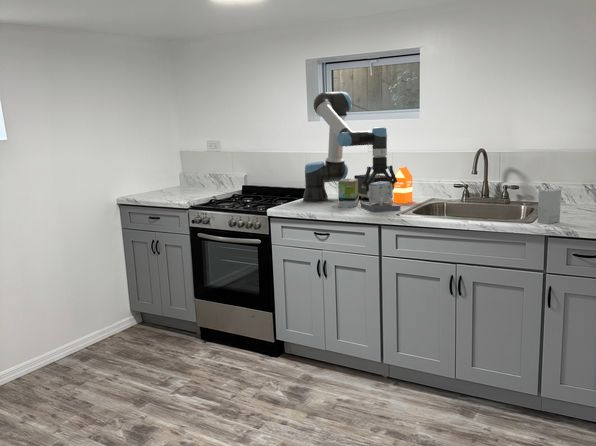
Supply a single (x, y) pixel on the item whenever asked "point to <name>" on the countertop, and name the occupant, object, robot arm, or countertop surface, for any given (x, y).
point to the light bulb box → (380, 191)
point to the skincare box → (549, 206)
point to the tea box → (347, 192)
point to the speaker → (362, 188)
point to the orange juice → (403, 186)
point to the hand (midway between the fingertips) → (379, 196)
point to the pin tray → (381, 206)
